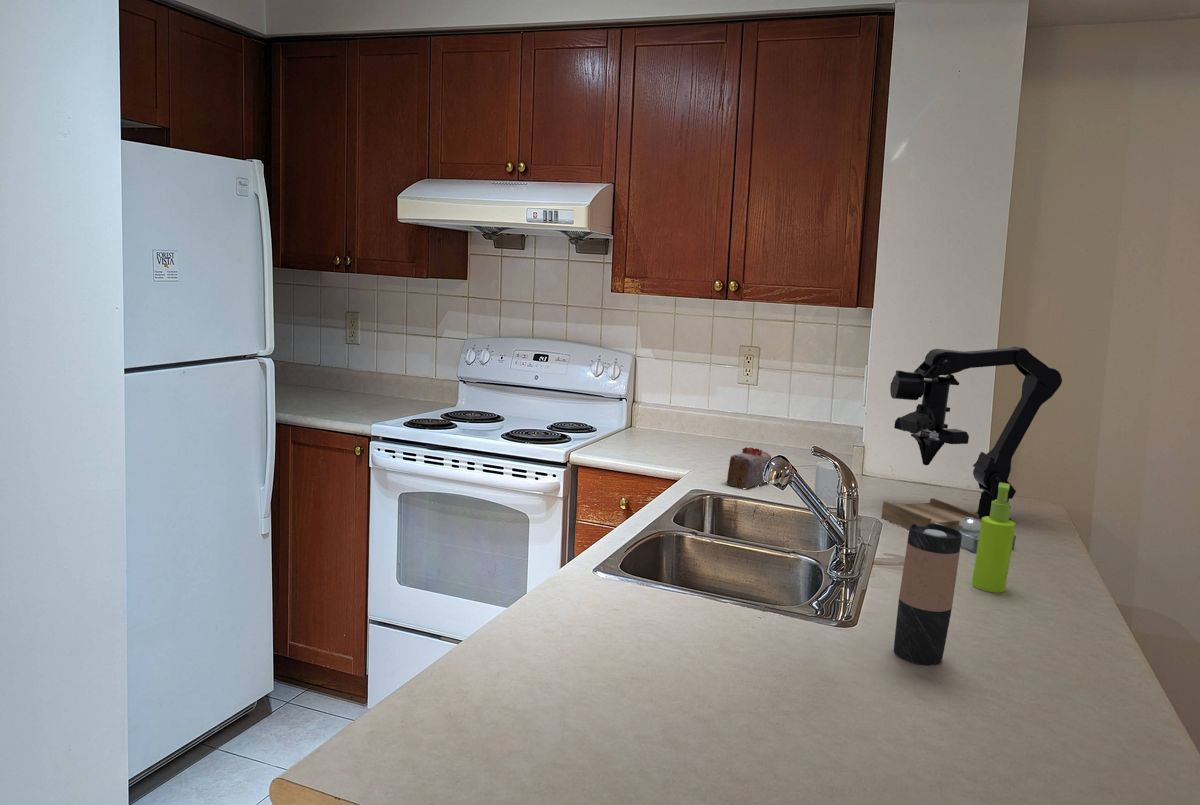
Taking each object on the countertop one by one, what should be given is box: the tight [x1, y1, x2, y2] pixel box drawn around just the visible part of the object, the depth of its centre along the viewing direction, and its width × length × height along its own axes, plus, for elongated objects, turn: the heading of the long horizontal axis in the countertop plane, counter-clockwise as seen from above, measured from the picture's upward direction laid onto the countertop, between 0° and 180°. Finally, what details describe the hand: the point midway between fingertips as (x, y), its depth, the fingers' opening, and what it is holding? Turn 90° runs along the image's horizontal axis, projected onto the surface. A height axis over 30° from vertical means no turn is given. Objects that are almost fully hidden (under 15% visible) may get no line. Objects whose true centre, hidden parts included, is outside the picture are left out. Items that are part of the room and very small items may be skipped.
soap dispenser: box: [971, 482, 1016, 594], centre depth 174 cm, size 6×7×20 cm
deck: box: [881, 497, 980, 531], centre depth 215 cm, size 16×14×4 cm
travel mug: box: [893, 523, 962, 666], centre depth 139 cm, size 8×8×20 cm
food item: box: [726, 446, 772, 489], centre depth 240 cm, size 14×8×10 cm, turn 144°
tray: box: [934, 523, 1017, 554], centre depth 204 cm, size 12×12×3 cm
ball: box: [958, 517, 981, 538], centre depth 204 cm, size 5×5×5 cm
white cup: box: [814, 461, 850, 507], centre depth 225 cm, size 8×8×10 cm
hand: (925, 464), depth 224 cm, fingers closed
